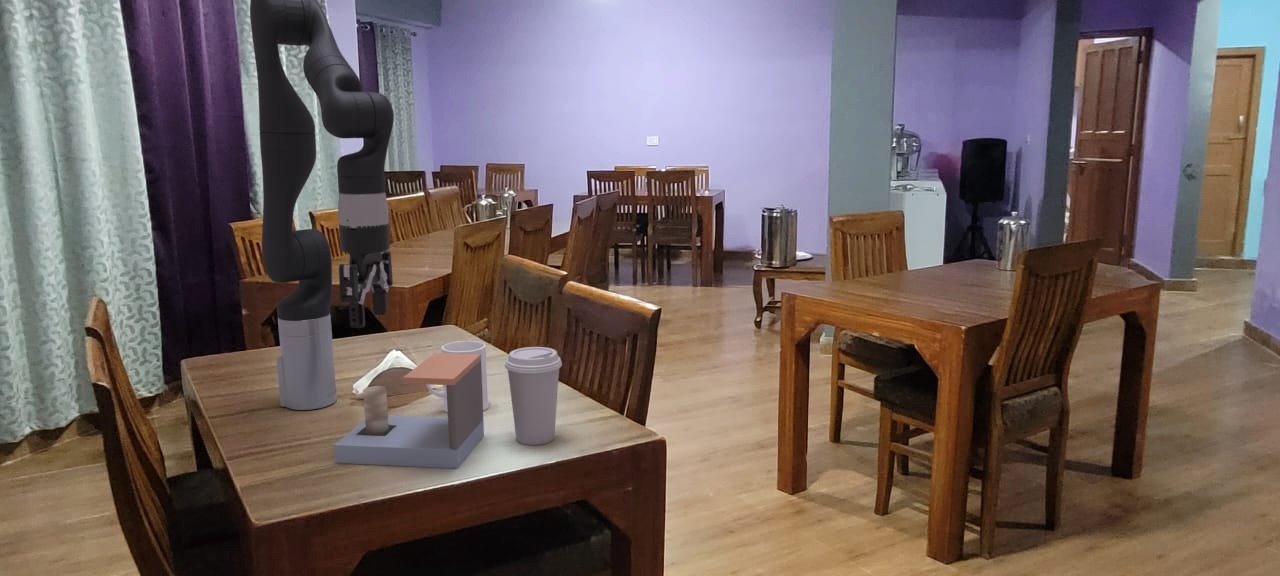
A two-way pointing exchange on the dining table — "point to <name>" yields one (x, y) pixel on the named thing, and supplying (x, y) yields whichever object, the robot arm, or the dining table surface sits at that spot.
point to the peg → (376, 411)
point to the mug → (466, 348)
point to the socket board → (427, 421)
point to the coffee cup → (534, 393)
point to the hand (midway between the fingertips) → (369, 320)
